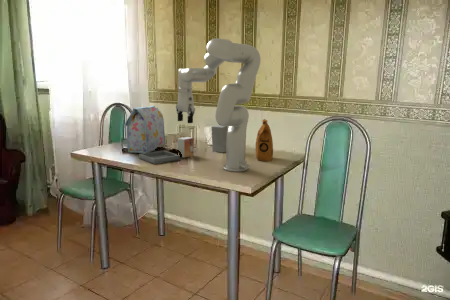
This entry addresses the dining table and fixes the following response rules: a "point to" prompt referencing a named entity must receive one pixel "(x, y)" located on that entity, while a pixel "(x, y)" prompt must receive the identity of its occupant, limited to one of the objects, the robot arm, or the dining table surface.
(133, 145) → the lunch bag
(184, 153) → the small box
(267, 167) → the dining table surface
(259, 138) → the coffee package
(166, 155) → the tray
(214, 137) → the skincare box
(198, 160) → the dining table surface
